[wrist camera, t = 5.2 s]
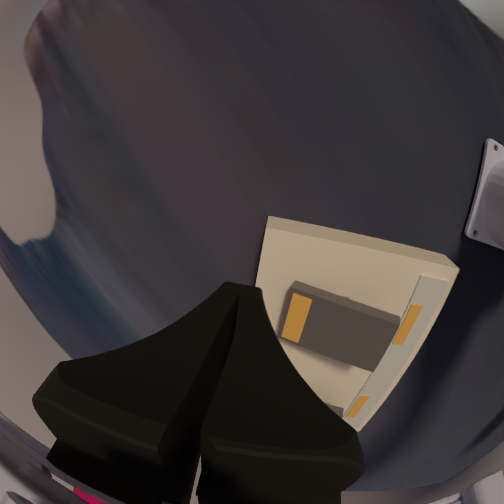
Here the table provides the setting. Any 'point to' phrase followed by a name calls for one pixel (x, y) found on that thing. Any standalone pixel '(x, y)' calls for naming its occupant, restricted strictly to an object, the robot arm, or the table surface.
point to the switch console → (357, 289)
